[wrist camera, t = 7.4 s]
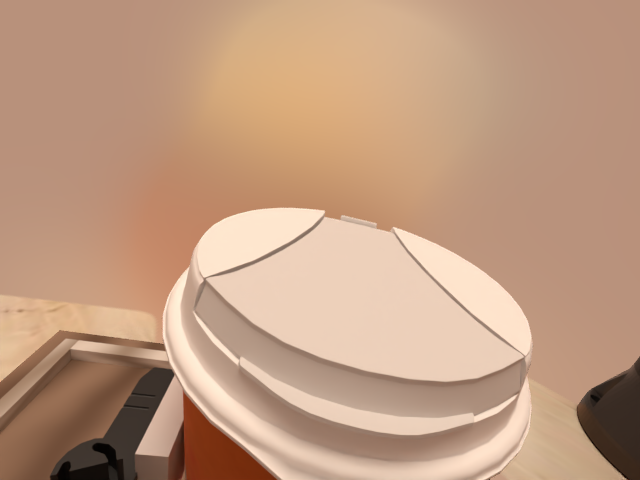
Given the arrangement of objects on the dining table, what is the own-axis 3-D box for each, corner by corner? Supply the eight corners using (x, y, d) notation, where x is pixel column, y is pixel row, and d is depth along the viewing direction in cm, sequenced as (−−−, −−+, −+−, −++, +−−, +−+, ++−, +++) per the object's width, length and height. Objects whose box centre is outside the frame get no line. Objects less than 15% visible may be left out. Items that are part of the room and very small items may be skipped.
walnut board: (230, 361, 35) (233, 343, 34) (159, 589, 18) (159, 567, 17) (61, 339, 33) (58, 320, 32) (-195, 572, 16) (-217, 547, 15)
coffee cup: (215, 454, 17) (248, 186, 11) (363, 492, 16) (471, 238, 11) (90, 747, 9) (-6, 328, 3) (370, 827, 9) (765, 524, 3)
